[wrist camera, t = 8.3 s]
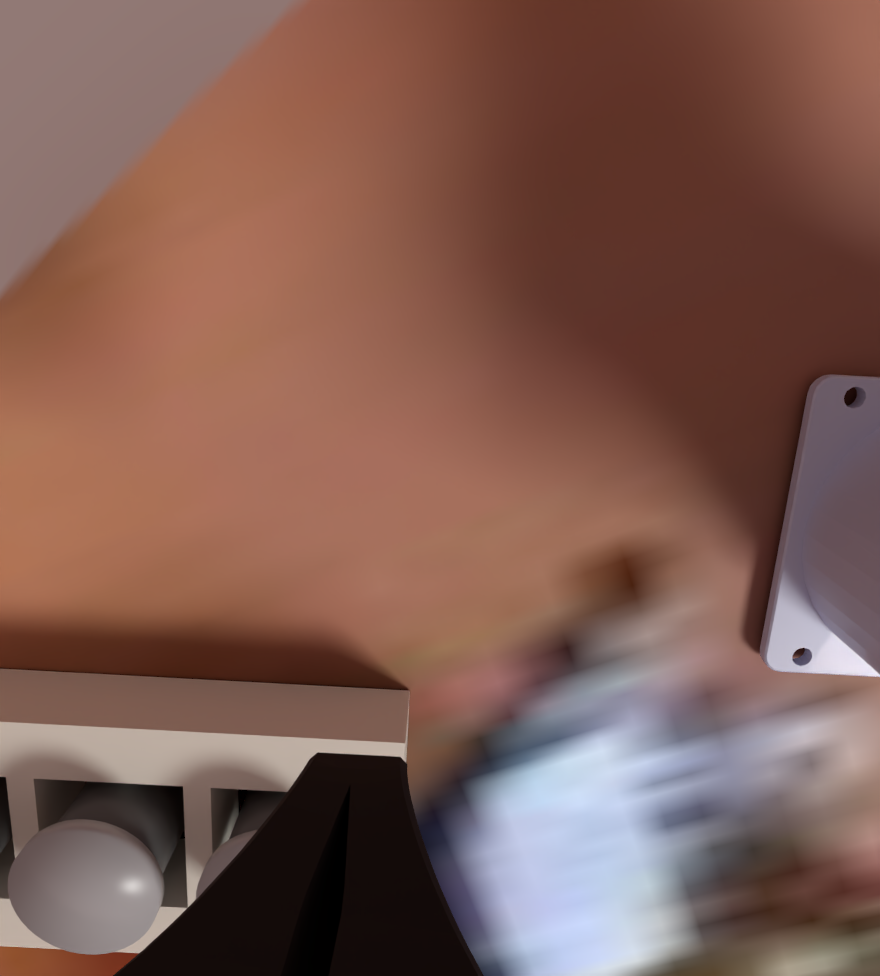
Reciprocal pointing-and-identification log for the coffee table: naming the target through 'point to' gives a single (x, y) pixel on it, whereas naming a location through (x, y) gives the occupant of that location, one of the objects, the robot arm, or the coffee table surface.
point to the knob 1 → (4, 816)
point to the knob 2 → (240, 833)
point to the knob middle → (99, 867)
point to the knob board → (171, 755)
